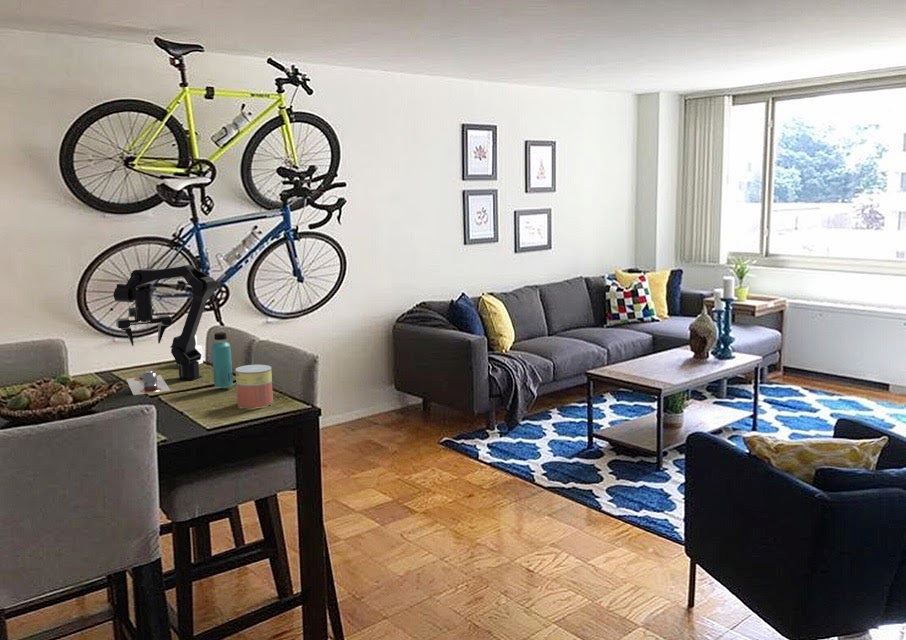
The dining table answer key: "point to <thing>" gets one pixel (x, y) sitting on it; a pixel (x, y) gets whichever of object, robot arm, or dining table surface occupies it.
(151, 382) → the locating pin
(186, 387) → the dining table surface
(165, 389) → the flange strip
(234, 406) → the dining table surface
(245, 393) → the canned food
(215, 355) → the beverage bottle
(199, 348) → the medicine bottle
